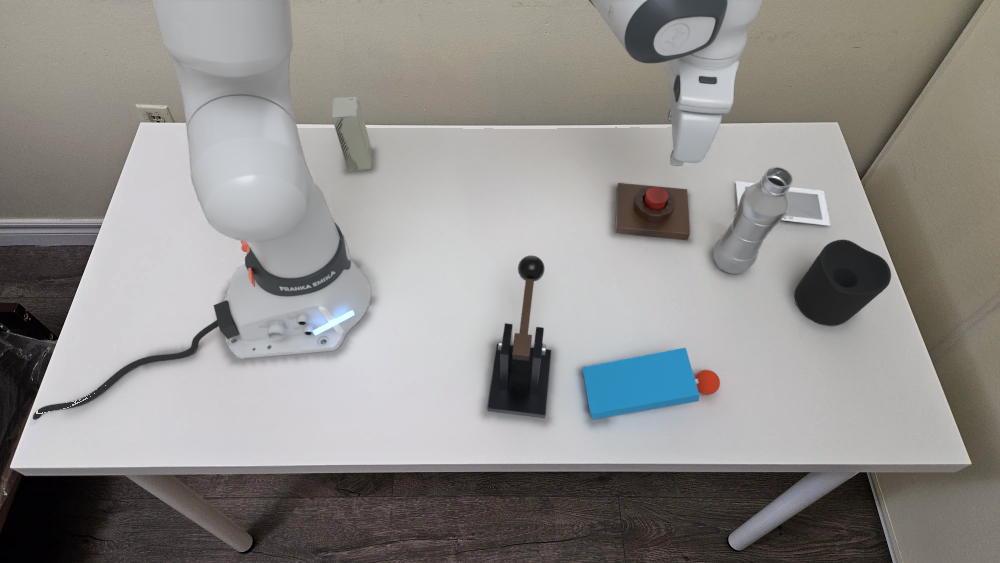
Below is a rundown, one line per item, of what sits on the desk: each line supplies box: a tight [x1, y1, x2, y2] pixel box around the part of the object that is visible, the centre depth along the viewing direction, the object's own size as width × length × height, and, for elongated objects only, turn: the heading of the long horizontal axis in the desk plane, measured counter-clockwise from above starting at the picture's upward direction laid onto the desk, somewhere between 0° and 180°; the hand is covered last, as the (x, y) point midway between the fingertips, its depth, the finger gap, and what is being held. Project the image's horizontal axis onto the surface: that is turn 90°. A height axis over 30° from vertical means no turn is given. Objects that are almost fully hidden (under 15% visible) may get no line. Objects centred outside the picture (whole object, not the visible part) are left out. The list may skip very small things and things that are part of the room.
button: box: [644, 186, 668, 210], centre depth 96 cm, size 4×4×2 cm
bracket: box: [486, 322, 552, 419], centre depth 77 cm, size 10×8×13 cm
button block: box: [614, 182, 691, 241], centre depth 98 cm, size 12×10×4 cm
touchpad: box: [735, 180, 831, 227], centre depth 99 cm, size 8×15×2 cm, turn 81°
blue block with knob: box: [582, 347, 721, 420], centre depth 80 cm, size 7×7×18 cm
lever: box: [512, 254, 545, 361], centre depth 75 cm, size 14×4×4 cm, turn 173°
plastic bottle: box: [712, 166, 794, 275], centre depth 85 cm, size 6×7×20 cm
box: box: [331, 96, 373, 172], centre depth 101 cm, size 5×4×13 cm
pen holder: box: [794, 239, 892, 326], centre depth 85 cm, size 9×9×10 cm
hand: (674, 139), depth 85 cm, fingers open, 8 cm apart
